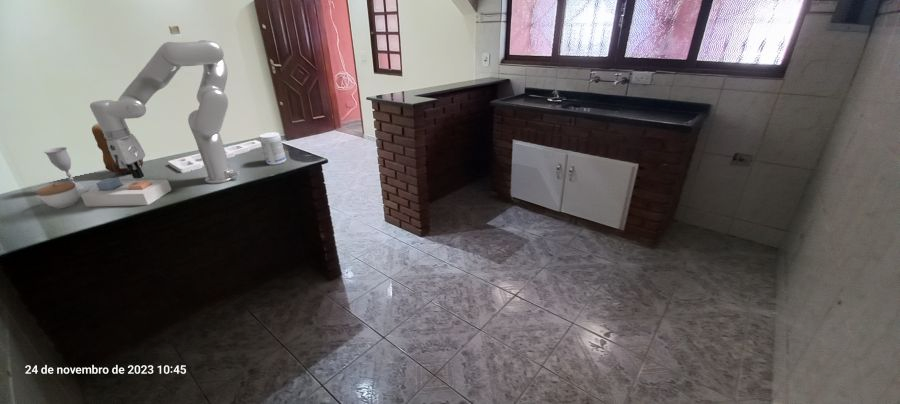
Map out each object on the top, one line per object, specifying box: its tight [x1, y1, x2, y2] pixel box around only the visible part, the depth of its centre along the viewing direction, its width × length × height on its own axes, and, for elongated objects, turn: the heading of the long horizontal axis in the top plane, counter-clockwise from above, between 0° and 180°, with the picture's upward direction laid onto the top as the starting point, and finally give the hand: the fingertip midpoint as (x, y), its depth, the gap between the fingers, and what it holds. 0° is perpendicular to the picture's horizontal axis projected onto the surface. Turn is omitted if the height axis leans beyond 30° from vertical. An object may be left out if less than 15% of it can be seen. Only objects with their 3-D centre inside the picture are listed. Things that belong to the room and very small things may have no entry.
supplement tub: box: [259, 131, 287, 166], centre depth 180 cm, size 10×10×15 cm
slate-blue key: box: [95, 177, 122, 190], centre depth 143 cm, size 5×5×3 cm
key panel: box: [80, 179, 172, 207], centre depth 145 cm, size 24×14×5 cm, turn 92°
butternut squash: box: [91, 122, 144, 175], centre depth 166 cm, size 14×13×25 cm
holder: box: [167, 139, 262, 174], centre depth 191 cm, size 45×18×3 cm, turn 142°
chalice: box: [43, 146, 85, 191], centre depth 151 cm, size 7×7×18 cm
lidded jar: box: [36, 181, 80, 209], centre depth 139 cm, size 11×11×9 cm
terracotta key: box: [129, 181, 152, 190], centre depth 144 cm, size 5×5×3 cm
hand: (139, 177), depth 143 cm, fingers closed
